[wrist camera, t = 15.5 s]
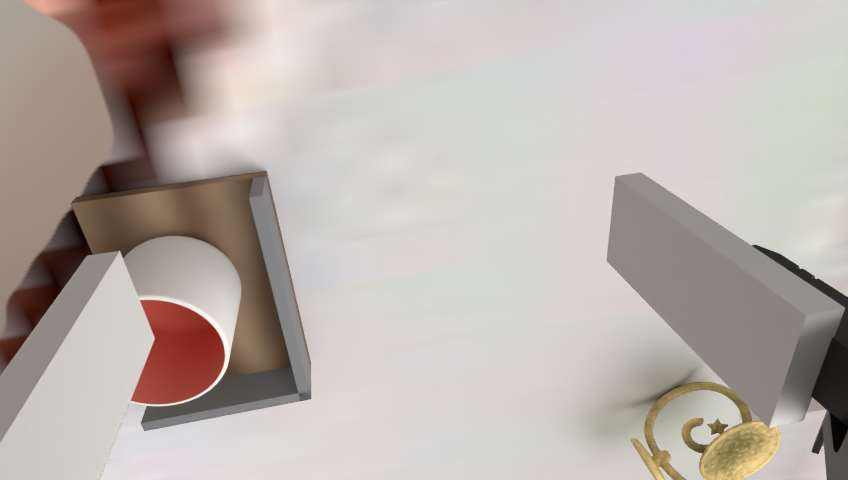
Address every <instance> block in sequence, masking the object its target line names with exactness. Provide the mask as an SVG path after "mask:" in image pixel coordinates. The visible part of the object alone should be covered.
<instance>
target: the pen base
mask: <svg viewBox="0 0 848 480" xmlns="http://www.w3.org/2000/svg"><path fill="white" fill-rule="evenodd" d="M258 177H266V180H267V184H268V188H269V193H270V197H271V201H272V206H273V210H274V214H275V218H276V223H277V227H278V231H279V236H280V240H281V244H282V249H283V253H284V257H285V262H286V266H287V270H288V274H289V279H290V283H291V287H292V292H293V296H294V300H295V305H296V309H297V313H298V318H299V322H300V326H301V330H302V335H303V339H304V343H305V348H306V352H307V356H308V361H309V365H310V369H311V362H310V357H309V353H308V349H307V344H306V340H305V336H304V331H303V327H302V323H301V318H300V314H299V310H298V305H297V301H296V297H295V292H294V288H293V283H292V279H291V275H290V270H289V266H288V262H287V257H286V253H285V249H284V244H283V240H282V236H281V231H280V227H279V223H278V218H277V214H276V210H275V205H274V201H273V197H272V192H271V188H270V184H269V179H268V175H267V171H265V172H258V173H251V174H243V175H236V176H229V177H221V178H214V179H207V180H199V181H192V182H185V183H177V184H170V185H163V186H155V187H148V188H141V189H133V190H126V191H119V192H112V193H104V194H97V195H90V196H82V197H76V198H75V199H74V200H73V201H72V203H71V205H72V207H73V210H74V212H75V214H76V217H77V219H78V221H79V224H80V226H81V228H82V231H83V233H84V235H85V238H86V240H87V242H88V245H89V247H90V249H91V252H92V254H93V255H95V254H102V253H109V252H115V251H120V252H121V255H122V257H123V258H124V257H125V256H126V255H127V254H128V253H129V252H130V251H131V250H132V249H134V248H135V247H137V246H138V245H140V244H142V243H144V242H146V241H149V240H151V239H155V238H159V237H164V236H185V237H191V238H195V239H199V240H202V241H204V242H206V243H208V244H210V245H212V246H214V247H215V248H217V249H219V250H220V251H221V252H222V253H224V254H225V255H226V256H227V257H228V258H229V260H230V261H231V262H232V263H233V265H234V267H235V268H236V270H237V272H238V275H239V278H240V282H241V300H240V305H239V310H238V315H237V321H236V326H235V331H234V337H233V342H232V347H231V353H230V358H229V363H228V366H227V369H226V371H225V373H224V375H223V377H222V378H221V379H224V378H229V377H235V376H240V375H246V374H251V373H257V372H262V371H267V370H273V369H278V368H284V367H289V366H291V362H290V358H289V354H288V350H287V346H286V342H285V338H284V334H283V331H282V327H281V323H280V319H279V315H278V311H277V307H276V303H275V299H274V295H273V291H272V287H271V283H270V279H269V275H268V271H267V267H266V264H265V260H264V256H263V252H262V248H261V244H260V240H259V236H258V232H257V228H256V224H255V220H254V216H253V212H252V208H251V204H250V200H249V194H250V190H251V186H252V182H253V178H258Z"/></svg>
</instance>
